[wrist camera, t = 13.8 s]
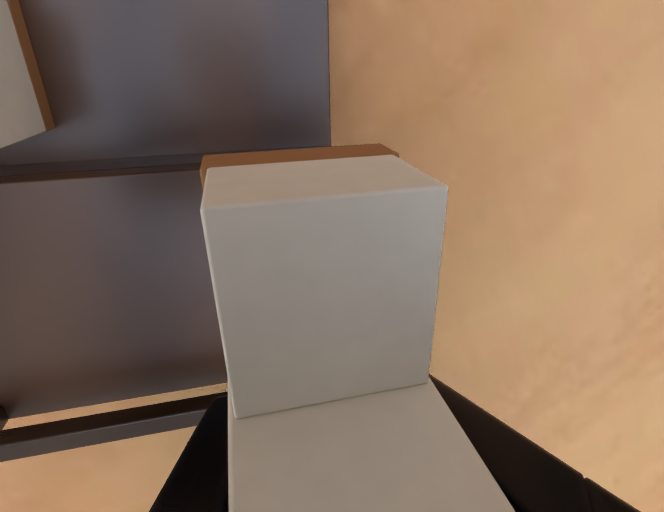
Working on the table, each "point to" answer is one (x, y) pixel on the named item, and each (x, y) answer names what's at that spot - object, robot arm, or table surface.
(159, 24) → the shoe rack
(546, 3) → the table surface
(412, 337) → the white l-shaped block
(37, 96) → the white stacked box shape
